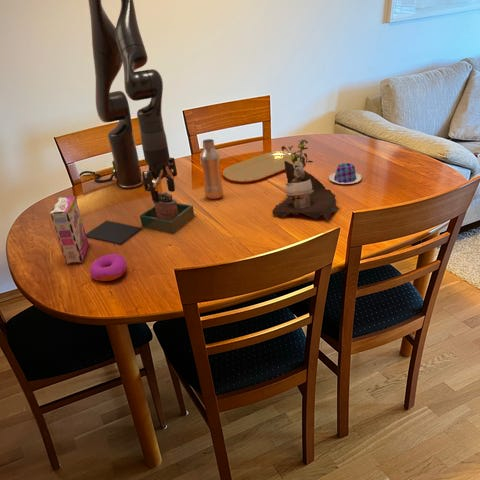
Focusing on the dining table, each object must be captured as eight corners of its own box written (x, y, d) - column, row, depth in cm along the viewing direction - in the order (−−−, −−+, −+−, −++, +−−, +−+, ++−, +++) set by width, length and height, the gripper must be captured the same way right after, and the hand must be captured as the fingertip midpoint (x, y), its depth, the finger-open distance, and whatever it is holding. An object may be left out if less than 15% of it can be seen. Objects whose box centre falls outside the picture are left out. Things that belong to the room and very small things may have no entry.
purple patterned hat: (351, 171, 176) (352, 157, 173) (367, 182, 167) (369, 167, 164) (323, 176, 174) (323, 163, 171) (338, 188, 165) (339, 174, 162)
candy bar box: (83, 263, 136) (67, 211, 126) (66, 264, 136) (48, 213, 125) (90, 244, 145) (75, 195, 134) (74, 246, 144) (57, 196, 134)
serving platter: (310, 162, 186) (310, 158, 185) (242, 188, 170) (242, 184, 169) (279, 152, 198) (279, 148, 197) (213, 175, 182) (213, 171, 181)
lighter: (181, 220, 153) (176, 191, 147) (177, 225, 151) (172, 196, 145) (160, 218, 156) (154, 190, 149) (155, 222, 153) (149, 194, 147)
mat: (84, 236, 149) (84, 235, 149) (106, 221, 156) (106, 220, 156) (120, 244, 143) (120, 243, 143) (141, 228, 150) (141, 227, 150)
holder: (142, 226, 152) (139, 215, 149) (164, 210, 160) (162, 200, 158) (173, 233, 147) (171, 221, 144) (194, 216, 155) (192, 205, 152)
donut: (102, 263, 135) (98, 250, 132) (134, 265, 133) (131, 251, 130) (86, 283, 127) (82, 269, 124) (121, 285, 125) (117, 271, 122)
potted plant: (272, 225, 151) (262, 145, 142) (287, 214, 167) (279, 141, 158) (333, 220, 143) (326, 135, 134) (342, 209, 160) (337, 132, 150)
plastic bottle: (221, 201, 163) (215, 144, 150) (203, 200, 164) (195, 144, 152) (225, 193, 168) (220, 137, 155) (207, 193, 169) (201, 137, 157)
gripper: (158, 137, 144) (167, 186, 154) (130, 152, 134) (141, 203, 144) (178, 138, 141) (186, 189, 151) (150, 154, 131) (161, 207, 141)
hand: (164, 196), depth 148 cm, fingers open, 8 cm apart
